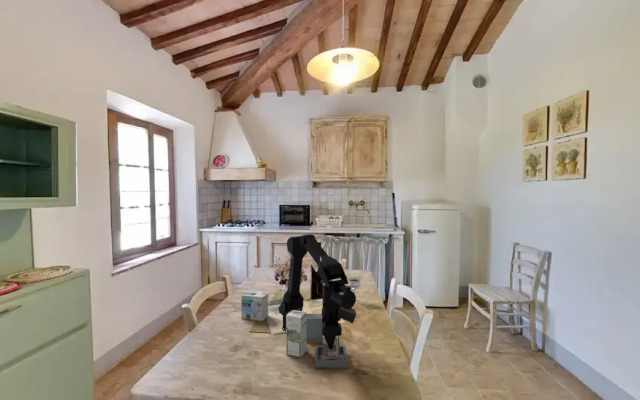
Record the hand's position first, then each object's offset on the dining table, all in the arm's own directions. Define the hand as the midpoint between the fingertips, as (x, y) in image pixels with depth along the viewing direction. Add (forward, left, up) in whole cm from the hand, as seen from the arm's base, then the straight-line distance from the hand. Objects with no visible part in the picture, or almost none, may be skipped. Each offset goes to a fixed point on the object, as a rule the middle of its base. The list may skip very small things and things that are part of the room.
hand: (330, 344), depth 113 cm
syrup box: (-12, +5, -6) cm, 14 cm away
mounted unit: (-6, +16, -5) cm, 18 cm away
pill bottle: (0, 0, -4) cm, 4 cm away
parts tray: (0, 0, -5) cm, 5 cm away
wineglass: (+14, +57, -6) cm, 59 cm away
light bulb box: (-33, +38, -6) cm, 51 cm away
